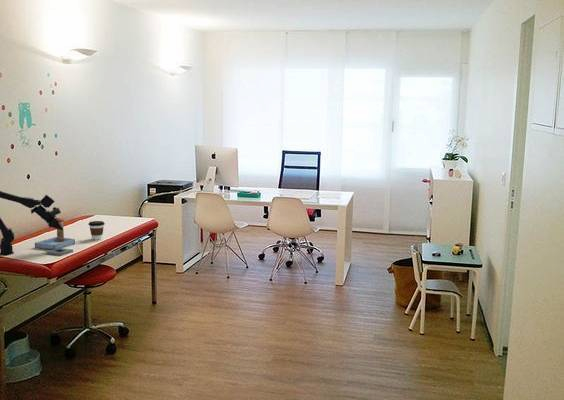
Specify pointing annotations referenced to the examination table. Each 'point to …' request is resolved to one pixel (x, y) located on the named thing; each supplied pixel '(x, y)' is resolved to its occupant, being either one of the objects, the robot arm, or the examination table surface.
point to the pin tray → (54, 243)
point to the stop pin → (60, 231)
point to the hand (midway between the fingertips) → (62, 229)
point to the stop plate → (59, 251)
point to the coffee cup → (96, 229)
